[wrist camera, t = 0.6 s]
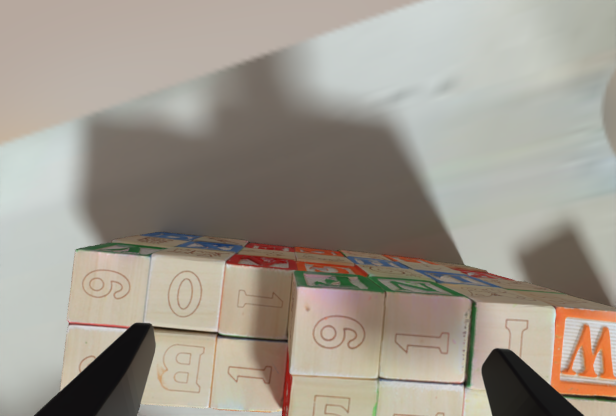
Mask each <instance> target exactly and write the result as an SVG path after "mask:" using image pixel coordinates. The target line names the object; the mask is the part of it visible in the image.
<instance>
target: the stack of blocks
mask: <svg viewBox="0 0 616 416" xmlns="http://www.w3.org/2000/svg"><path fill="white" fill-rule="evenodd" d="M67 321H68V322H69V325H68V329H67V335H66V342H65V350H64V359H63V369H62V377H61V385H60V391H61V390H62V389H63V388H64V387H65V386H67V385H68V384H69V383H70V382H71V381H72V380H73V379H74V378H75V377H76V376H77V375H78V374H79V373H81V372H82V371H83V370H84V369H85V368H86V367H87V366H88V365H89V364H90V363H91V362H92V361H94V360H95V359H96V358H97V357H98V356H99V355H100V354H101V353H102V352H103V351H104V350H105V349H106V348H108V347H109V346H110V345H111V344H112V343H113V342H114V341H115V340H116V339H117V338H118V337H119V336H121V335H122V334H123V333H124V332H125V331H126V330H127V329H128V328H129V327H130V326H131V325H133V324H134V323H137V322H140V323H151V324H152V325H153V328H154V335H155V342H156V348H155V354H154V357H153V361H152V364H151V368H150V371H149V375H148V379H147V382H146V386H145V389H144V393H143V396H142V400H141V403H140V404H144V405H161V406H175V407H192V408H209V407H210V408H212V409H217V410H230V411H252V412H276V411H281V410H282V416H492V413H491V409H490V405H489V401H488V397H487V393H486V390H485V386H484V382H483V378H482V373H481V368H482V365H483V363H484V362H485V360H486V359H487V357H488V356H489V354H490V353H491V351H492V350H493V349H495V348H504V349H510V350H512V351H513V352H514V353H515V354H516V355H518V356H519V357H520V358H521V359H522V360H523V361H524V362H525V363H526V364H528V365H529V366H530V367H531V368H532V369H533V370H534V371H535V372H536V373H538V374H539V375H540V376H541V377H542V378H543V379H544V380H545V381H546V382H548V383H549V384H550V385H551V386H552V387H553V388H554V389H555V390H556V391H558V392H559V393H560V394H561V395H562V396H563V397H564V398H565V399H567V400H568V401H569V402H570V403H571V404H572V405H573V406H574V407H575V408H577V409H578V410H579V411H580V412H581V413H582V414H583V415H584V416H616V308H615V307H611V306H608V305H604V304H600V303H597V302H593V301H589V300H585V299H581V298H577V297H574V296H569V295H567V294H565V293H561V292H558V291H555V290H552V289H548V288H544V287H541V286H538V285H534V284H531V283H527V282H522V281H515V280H512V279H509V278H505V277H501V276H498V275H494V274H491V273H488V272H487V271H486V270H482V269H478V268H474V267H470V266H466V265H460V264H451V263H442V262H433V261H426V260H424V259H417V258H408V257H399V256H390V255H380V254H373V253H365V252H356V251H347V250H338V251H331V250H320V249H311V248H302V247H293V248H292V247H285V246H276V245H265V244H256V243H249V241H246V240H237V239H229V238H219V237H210V236H194V235H185V234H175V233H165V232H155V233H150V234H144V235H136V236H130V237H124V238H119V239H114V240H112V242H111V243H105V244H100V245H95V246H88V247H84V248H79V249H76V250H75V256H74V264H73V272H72V281H71V290H70V297H69V305H68V313H67Z"/></svg>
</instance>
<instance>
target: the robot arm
mask: <svg viewBox="0 0 616 416" xmlns="http://www.w3.org/2000/svg"><path fill="white" fill-rule="evenodd" d="M155 348H156V342H155V335H154V328H153V325H152V324H151V323H140V322H137V323H134V324H133V325H131V326H130V327H129V328H128V329H127V330H126V331H125V332H124V333H123V334H122V335H121V336H119V337H118V338H117V339H116V340H115V341H114V342H113V343H112V344H111V345H110V346H109V347H108V348H106V349H105V350H104V351H103V352H102V353H101V354H100V355H99V356H98V357H97V358H96V359H95V360H94V361H92V362H91V363H90V364H89V365H88V366H87V367H86V368H85V369H84V370H83V371H82V372H81V373H79V374H78V375H77V376H76V377H75V378H74V379H73V380H72V381H71V382H70V383H69V384H68V385H67V386H65V387H64V388H63V389H62V390H61V391H60V392H59V393H58V394H57V395H56V396H55V397H54V398H52V399H51V400H50V401H49V402H48V403H47V404H46V405H45V406H44V407H43V408H42V409H41V410H40V411H38V412H37V413H36V414H35V415H34V416H137V414H138V410H139V407H140V403H141V400H142V396H143V393H144V389H145V386H146V382H147V379H148V375H149V371H150V368H151V364H152V361H153V357H154V354H155ZM481 373H482V378H483V382H484V386H485V390H486V393H487V397H488V401H489V405H490V409H491V413H492V416H584V415H583V414H582V413H581V412H580V411H579V410H578V409H577V408H575V407H574V406H573V405H572V404H571V403H570V402H569V401H568V400H567V399H565V398H564V397H563V396H562V395H561V394H560V393H559V392H558V391H556V390H555V389H554V388H553V387H552V386H551V385H550V384H549V383H548V382H546V381H545V380H544V379H543V378H542V377H541V376H540V375H539V374H538V373H536V372H535V371H534V370H533V369H532V368H531V367H530V366H529V365H528V364H526V363H525V362H524V361H523V360H522V359H521V358H520V357H519V356H518V355H516V354H515V353H514V352H513V351H512V350H510V349H504V348H495V349H493V350H492V351H491V353H490V354H489V356H488V357H487V359H486V360H485V362H484V363H483V365H482V368H481Z"/></svg>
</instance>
